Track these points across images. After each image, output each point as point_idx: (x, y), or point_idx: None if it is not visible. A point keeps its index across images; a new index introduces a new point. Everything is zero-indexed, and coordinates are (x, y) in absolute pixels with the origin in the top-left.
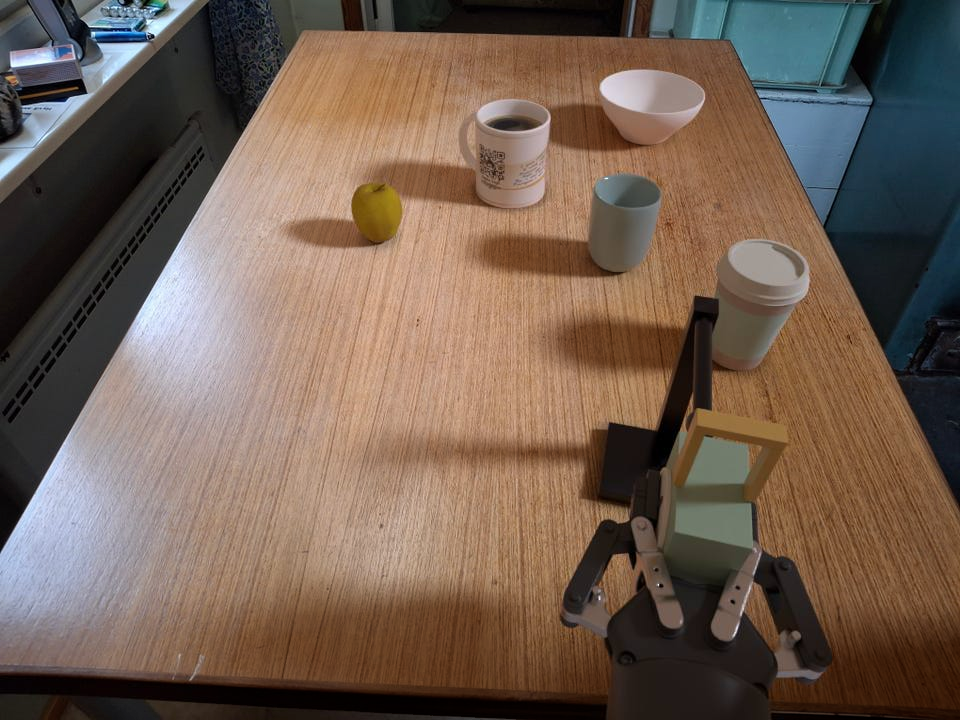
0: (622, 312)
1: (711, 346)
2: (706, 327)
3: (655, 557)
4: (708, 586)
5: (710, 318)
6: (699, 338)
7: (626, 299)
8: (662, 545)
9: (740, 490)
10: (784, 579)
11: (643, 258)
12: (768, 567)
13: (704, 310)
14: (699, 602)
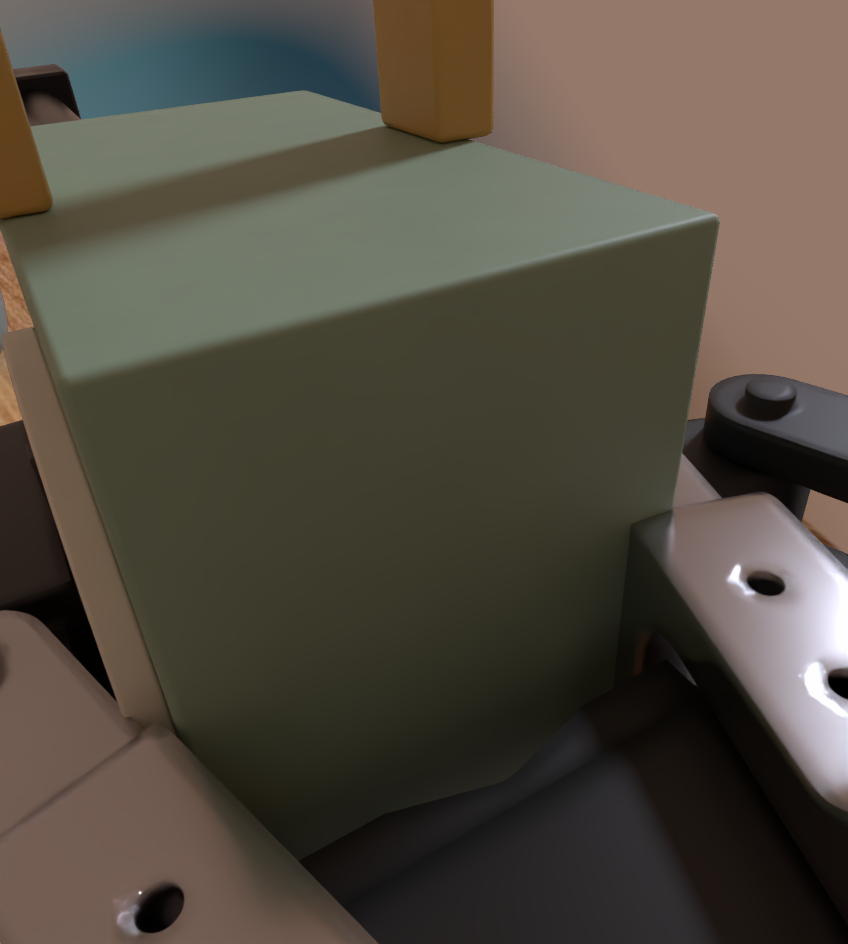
0: (3, 421)
1: (76, 115)
2: (44, 97)
3: (108, 802)
4: (598, 723)
5: (51, 93)
6: (30, 112)
7: (4, 401)
8: (151, 685)
9: (390, 135)
10: (832, 436)
11: (2, 326)
12: (709, 462)
13: (21, 76)
14: (658, 891)
